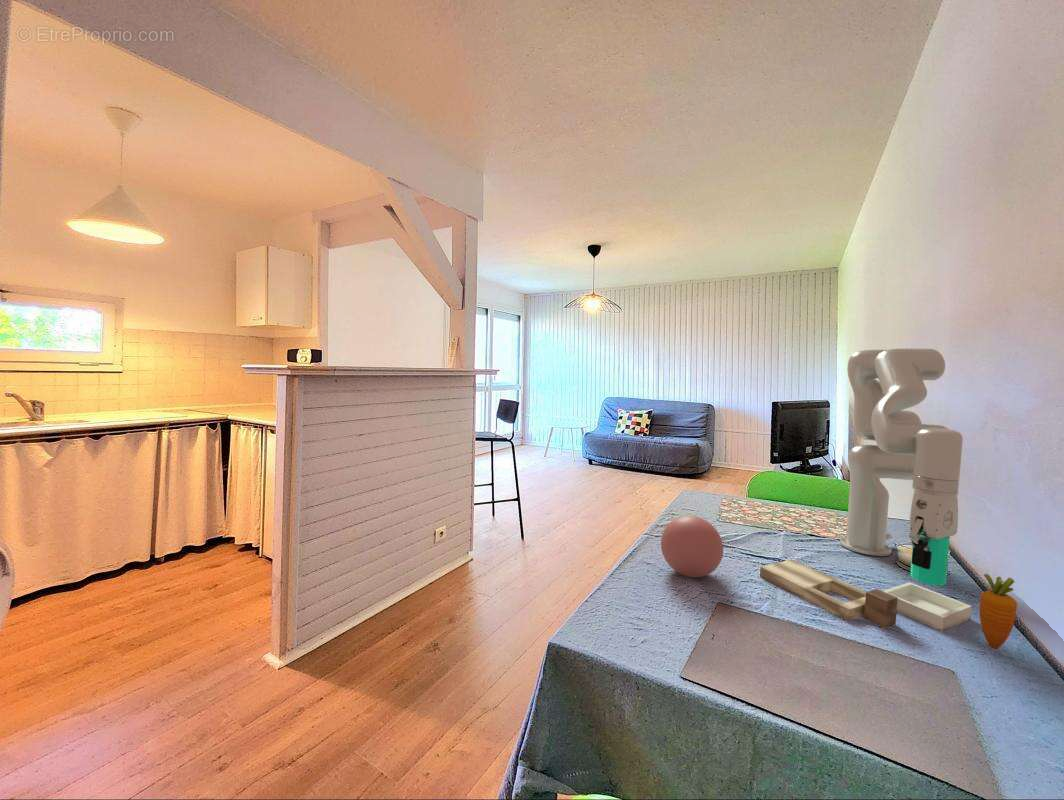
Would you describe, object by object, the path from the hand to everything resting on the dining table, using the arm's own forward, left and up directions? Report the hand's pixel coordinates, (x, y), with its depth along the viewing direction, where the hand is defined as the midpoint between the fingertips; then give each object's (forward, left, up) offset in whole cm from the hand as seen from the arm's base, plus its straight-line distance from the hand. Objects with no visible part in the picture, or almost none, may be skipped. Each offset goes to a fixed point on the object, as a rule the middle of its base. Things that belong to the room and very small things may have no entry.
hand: (928, 563), depth 100 cm
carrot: (+4, +13, -11) cm, 18 cm away
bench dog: (+14, -2, -11) cm, 18 cm away
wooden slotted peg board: (+14, -16, -11) cm, 24 cm away
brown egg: (+34, -35, -11) cm, 50 cm away
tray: (0, 0, -11) cm, 11 cm away
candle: (0, 0, -4) cm, 4 cm away
